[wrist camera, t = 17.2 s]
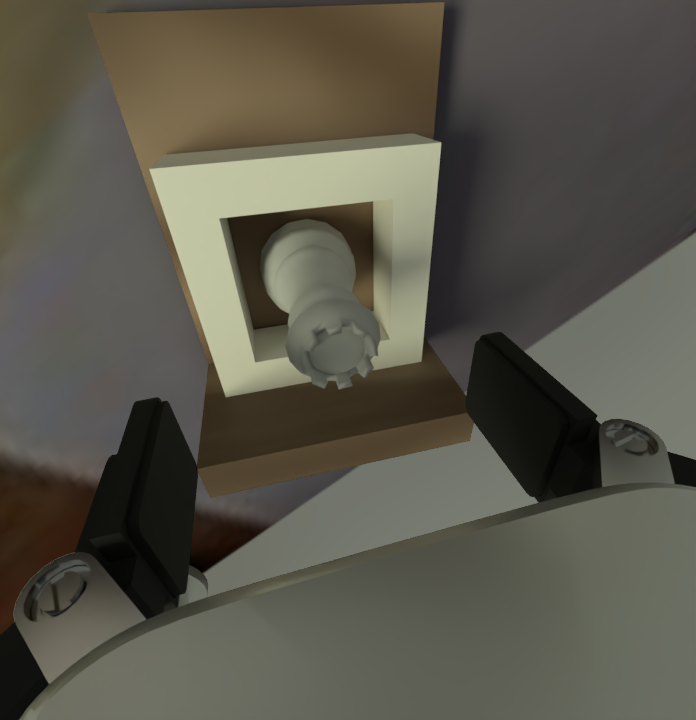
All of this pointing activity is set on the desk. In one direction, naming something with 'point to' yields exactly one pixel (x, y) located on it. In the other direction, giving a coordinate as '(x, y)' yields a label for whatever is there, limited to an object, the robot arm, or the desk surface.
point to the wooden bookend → (251, 232)
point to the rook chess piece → (319, 302)
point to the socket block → (294, 192)
